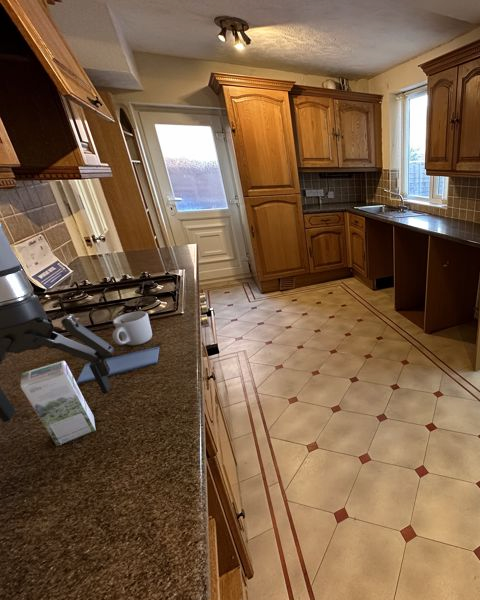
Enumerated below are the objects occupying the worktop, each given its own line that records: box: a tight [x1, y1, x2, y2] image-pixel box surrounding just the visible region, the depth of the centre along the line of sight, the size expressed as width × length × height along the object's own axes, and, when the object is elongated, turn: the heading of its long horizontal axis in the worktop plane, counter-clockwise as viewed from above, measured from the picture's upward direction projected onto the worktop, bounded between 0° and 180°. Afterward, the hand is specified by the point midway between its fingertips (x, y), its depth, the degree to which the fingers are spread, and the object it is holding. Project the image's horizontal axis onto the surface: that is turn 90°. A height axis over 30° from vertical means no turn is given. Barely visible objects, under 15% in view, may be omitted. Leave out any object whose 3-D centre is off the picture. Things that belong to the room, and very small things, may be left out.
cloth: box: [75, 346, 160, 385], centre depth 84 cm, size 16×9×1 cm, turn 121°
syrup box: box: [19, 360, 97, 447], centre depth 61 cm, size 6×6×14 cm
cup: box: [112, 310, 153, 346], centre depth 92 cm, size 11×8×8 cm
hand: (61, 402), depth 61 cm, fingers open, 13 cm apart
